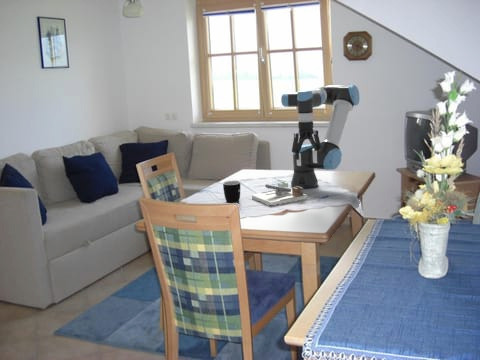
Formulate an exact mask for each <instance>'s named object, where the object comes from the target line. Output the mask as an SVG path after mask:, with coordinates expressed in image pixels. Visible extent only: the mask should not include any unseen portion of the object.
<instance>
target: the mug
mask: <svg viewBox="0 0 480 360" xmlns="http://www.w3.org/2000/svg"><path fill="white" fill-rule="evenodd" d="M222 185H223V189H222V190H223V195H224V199H225V201H226V203H228V204H234V203H233V202H237V203H239V202H240V198H241V181H238V180H228V181H225V182H223V183H222Z"/></svg>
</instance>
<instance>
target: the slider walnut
mask: <svg viewBox="0 0 480 360" xmlns="http://www.w3.org/2000/svg"><path fill="white" fill-rule="evenodd" d="M291 190H292V195H294V196H301V195H303V194H304V189H303V188H302V187H299V186H295V187H291Z"/></svg>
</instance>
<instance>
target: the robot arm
mask: <svg viewBox="0 0 480 360" xmlns="http://www.w3.org/2000/svg"><path fill="white" fill-rule="evenodd" d="M360 99H361V98H360V91H359V88H358V86H357V85H355V84H330V85H326V86H325V85H324V86H320V87H317V88H315V89H312V90H310V89H304V90H303V89H302V90H299V91H295V92H284V93H283V94H282V95H281V99H280V101H281V102H280V103H281V105H282V106H283V107H284V108H297V118H298V132H294V133H293V142H292V148H291V152H292V162H293V163H292V164H293V174H292V178H291V180H290V186H291V188H293V187H295V186H299V187H302V188H303V190H304V189H314V188H317V187H318V185H319V184H318V183H319V181H318V178H317V176H316V173H315V170H317V169H318V170H327V171H329V170H330V171H331V170H333V171H334V170H336V169H337V168H338V167H339V166H340V164H341V162H342V157H343V155H342V151H341V148H340V147H339V144H340V141H341V139H342V138H341V137H342V135H343V131H344V129H345V125H346V122H347V119H348V116H349V113H350V112H351V111H352V110H353V109H354V107H356V106H358V105H359V103H360ZM322 105H325V106H326V105H328V106H333V110H332V112H331V113H332V114H331V116H330V120H329V122H328V126H327V127H326V128H327V129H326V132H325V135H324V138H323V140H322V141H320V137H319V130H317V129H314V121H313V120H314V108H317V107H318V108H319V107H320V106H322ZM305 140H306V141H307V140H308V141H309V143H310V144H304V143H305Z"/></svg>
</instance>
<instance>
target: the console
mask: <svg viewBox="0 0 480 360" xmlns="http://www.w3.org/2000/svg"><path fill="white" fill-rule="evenodd" d="M251 199H252V200H254V201H256V202H259V201H260V203H262V202H263V203H262V204H264V203H265V204H264V205H266V204H268V205H267V206H269V205H275V206H277V205H276V204H279V205H282V203H284V204H288V203H287V202H289V203H293V201H294V202H297V201H298V200H299V201H303V200H307V199H308V194H305V193H303V195H301V196H294V195H292V189H291V192H287V191H280V190H275V189H271V190H269V191H268V190H267V191H261V192H260V193H254V194H252V195H251ZM299 201H298V202H299Z"/></svg>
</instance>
